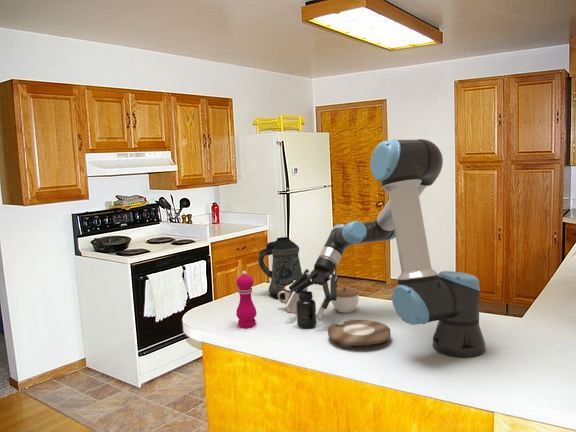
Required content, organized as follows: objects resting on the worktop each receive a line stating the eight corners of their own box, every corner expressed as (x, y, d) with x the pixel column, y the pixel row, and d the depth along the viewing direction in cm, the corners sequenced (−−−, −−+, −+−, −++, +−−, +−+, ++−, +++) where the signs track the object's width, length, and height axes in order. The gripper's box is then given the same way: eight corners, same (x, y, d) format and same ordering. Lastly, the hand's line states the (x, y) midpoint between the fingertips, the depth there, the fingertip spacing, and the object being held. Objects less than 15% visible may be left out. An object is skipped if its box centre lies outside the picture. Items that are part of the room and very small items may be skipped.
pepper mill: (254, 329, 174) (251, 273, 172) (234, 328, 176) (231, 273, 173) (259, 322, 181) (256, 268, 179) (240, 321, 183) (237, 268, 180)
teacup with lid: (310, 307, 197) (309, 278, 195) (304, 314, 188) (303, 284, 187) (282, 305, 200) (281, 277, 199) (274, 312, 192) (273, 283, 190)
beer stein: (314, 295, 212) (312, 238, 209) (273, 304, 202) (271, 243, 199) (294, 287, 226) (292, 233, 223) (256, 294, 217) (253, 238, 214)
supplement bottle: (320, 325, 176) (319, 292, 174) (307, 330, 171) (306, 296, 169) (305, 321, 180) (304, 289, 179) (293, 326, 175) (291, 293, 174)
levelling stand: (402, 336, 162) (402, 324, 161) (368, 357, 147) (368, 343, 146) (351, 324, 175) (350, 313, 174) (315, 341, 160) (315, 329, 160)
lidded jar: (325, 311, 190) (324, 287, 189) (341, 304, 198) (340, 281, 197) (349, 316, 183) (348, 292, 182) (364, 309, 192) (364, 285, 190)
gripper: (360, 272, 177) (336, 324, 167) (306, 263, 193) (281, 311, 184) (351, 260, 172) (326, 313, 163) (296, 252, 189) (271, 300, 179)
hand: (302, 312), depth 173 cm, fingers open, 13 cm apart
